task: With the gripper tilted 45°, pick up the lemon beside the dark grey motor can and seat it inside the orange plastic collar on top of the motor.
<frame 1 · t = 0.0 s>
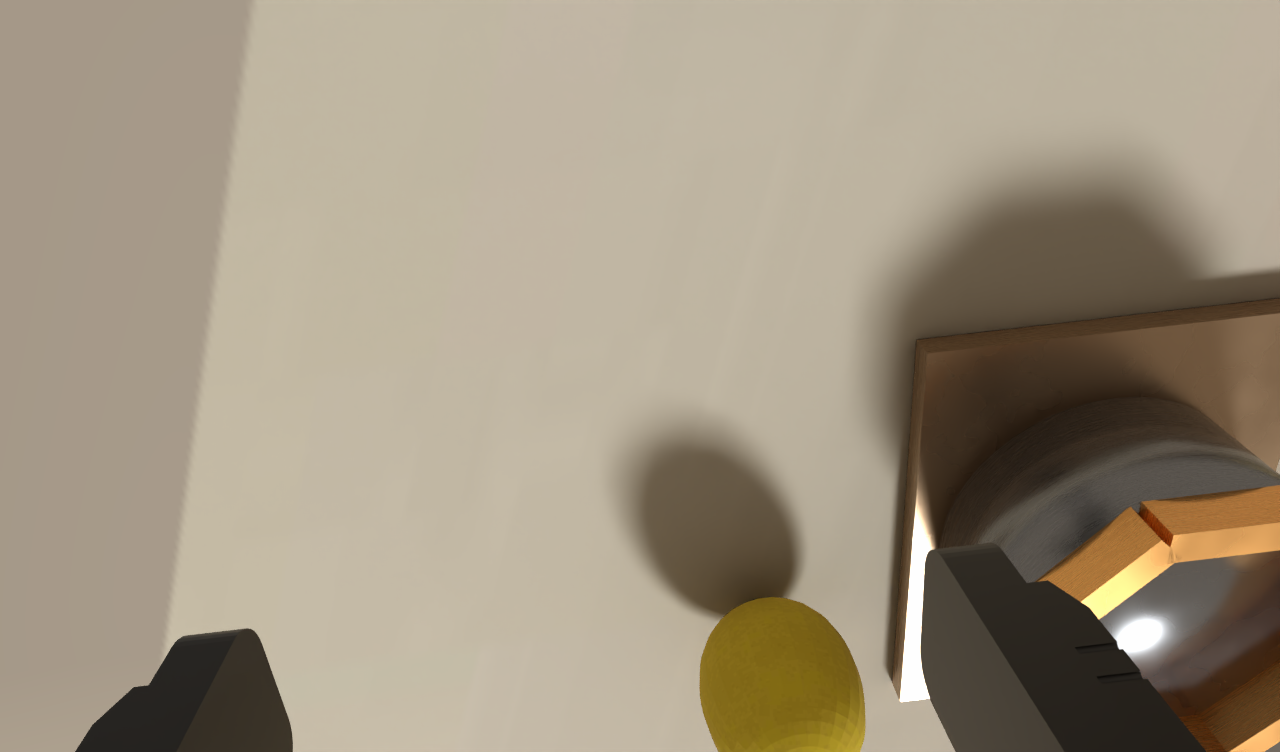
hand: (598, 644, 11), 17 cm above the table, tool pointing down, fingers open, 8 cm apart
lemon: (757, 605, 34), on the table
motor mount: (1074, 511, 33), on the table
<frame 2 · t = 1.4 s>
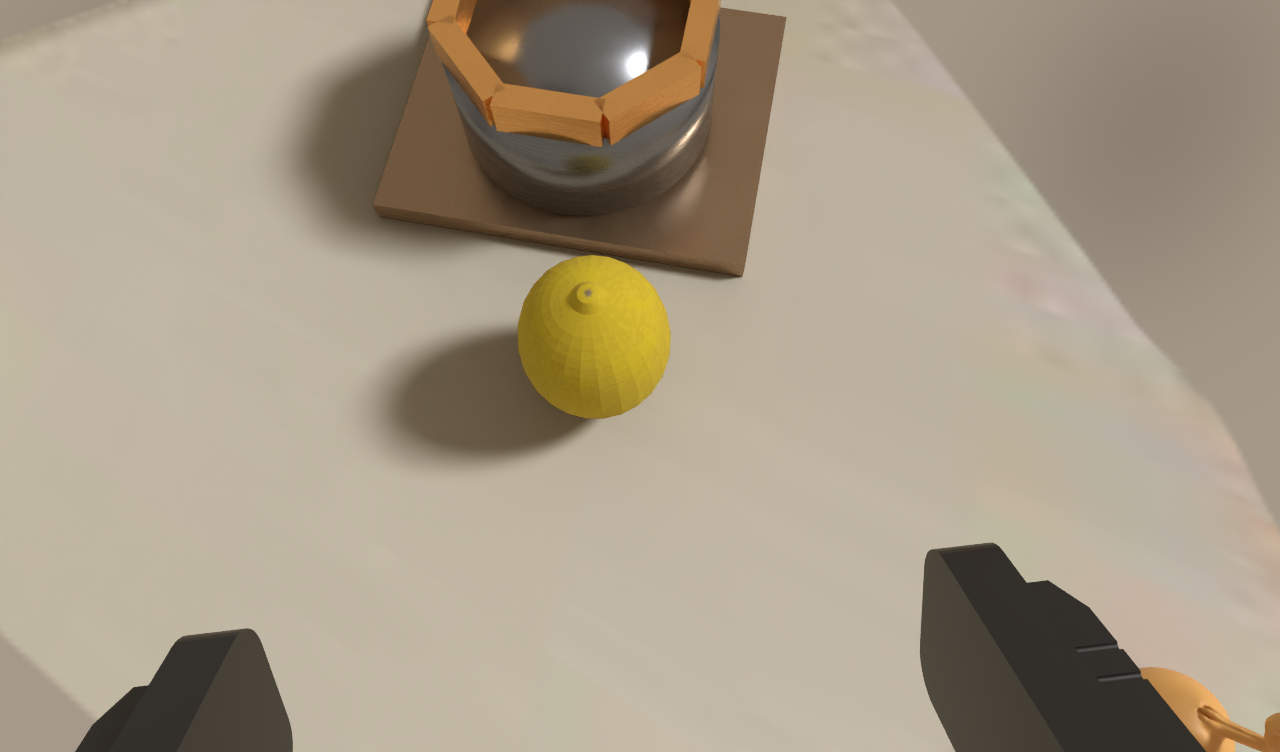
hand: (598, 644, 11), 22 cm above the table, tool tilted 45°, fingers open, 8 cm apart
lemon: (600, 378, 36), on the table
motor mount: (589, 120, 40), on the table
figurine: (1153, 748, 31), on the table
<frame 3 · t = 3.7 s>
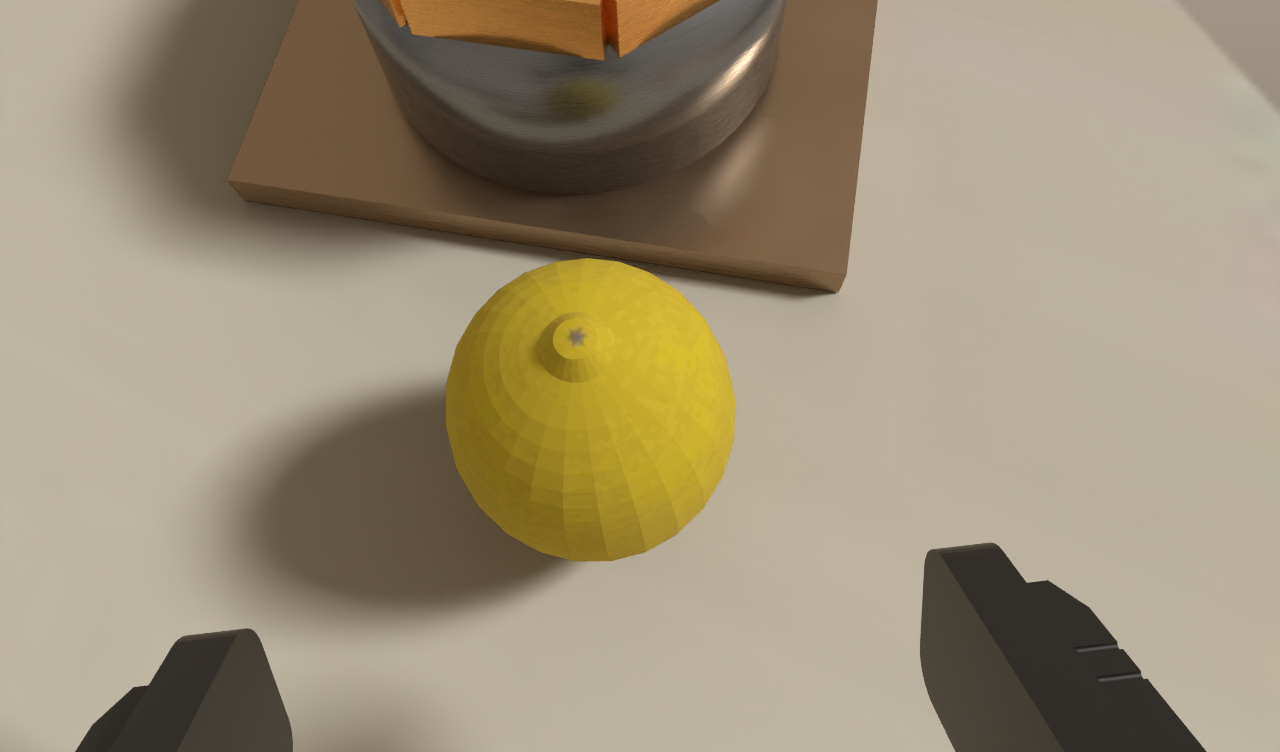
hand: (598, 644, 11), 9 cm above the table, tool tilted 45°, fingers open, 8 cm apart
lemon: (605, 467, 21), on the table
motor mount: (583, 47, 25), on the table
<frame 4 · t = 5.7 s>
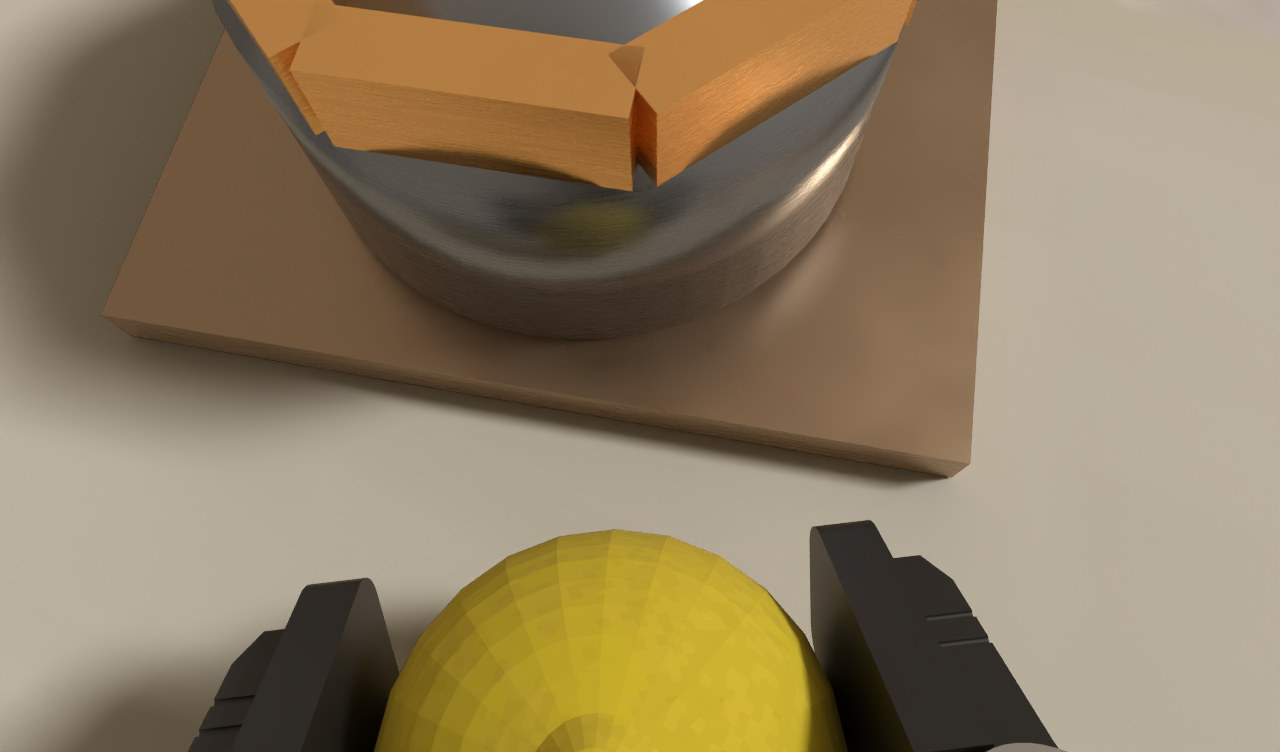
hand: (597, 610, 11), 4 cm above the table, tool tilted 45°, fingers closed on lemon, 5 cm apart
lemon: (626, 743, 15), on the table, touching gripper
motor mount: (594, 121, 19), on the table
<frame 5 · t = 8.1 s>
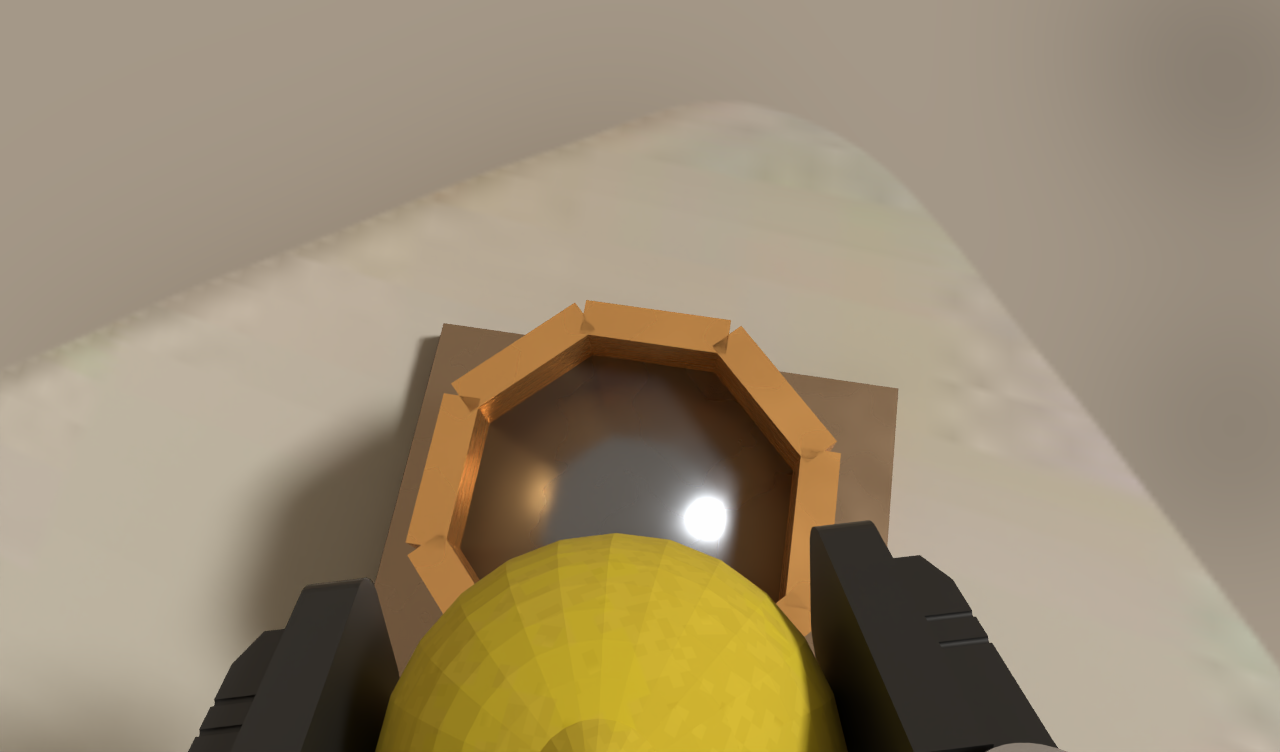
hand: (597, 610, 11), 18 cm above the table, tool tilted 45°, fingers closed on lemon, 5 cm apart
lemon: (626, 746, 15), point 13 cm above the table, touching gripper
motor mount: (635, 545, 29), on the table
when the fingers open (12 cm above the table, at t = 10.3 s): lemon stays where it is, resting on motor mount.
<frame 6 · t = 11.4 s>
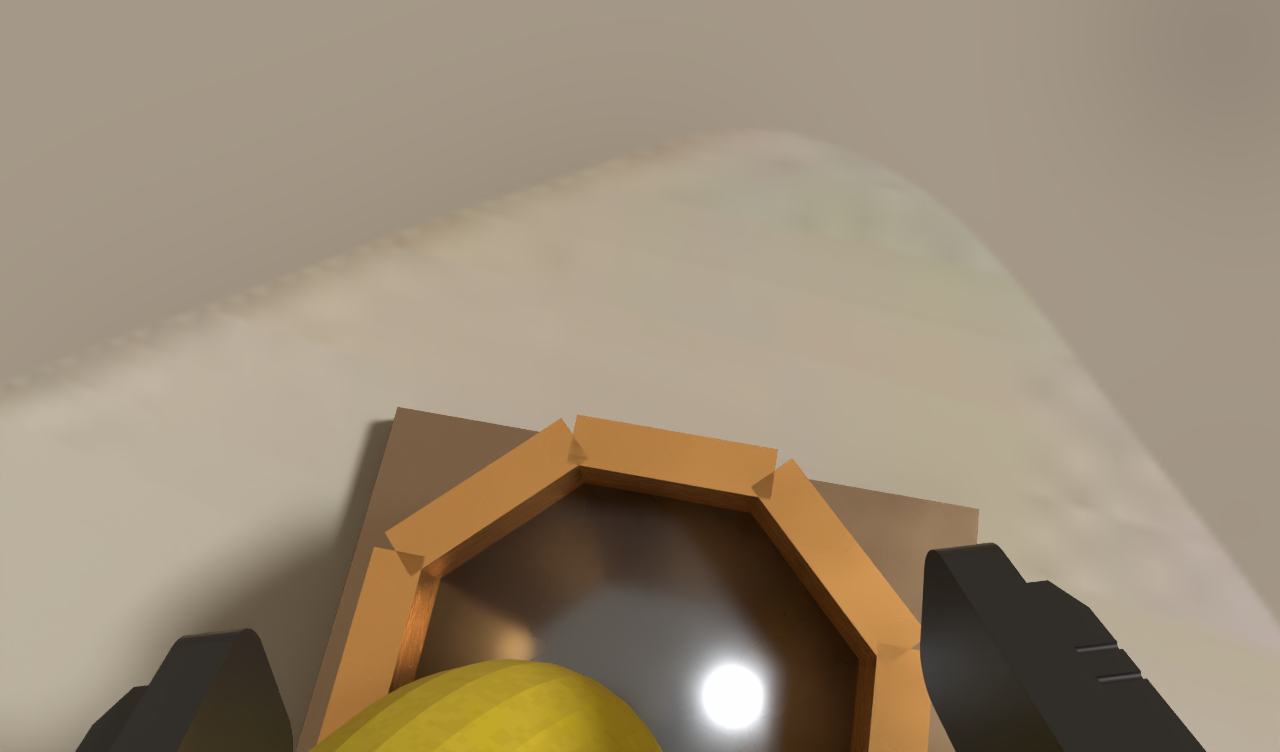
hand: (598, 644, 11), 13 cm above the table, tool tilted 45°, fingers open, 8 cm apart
lemon: (637, 748, 16), point 7 cm above the table, touching motor mount
motor mount: (636, 707, 22), on the table
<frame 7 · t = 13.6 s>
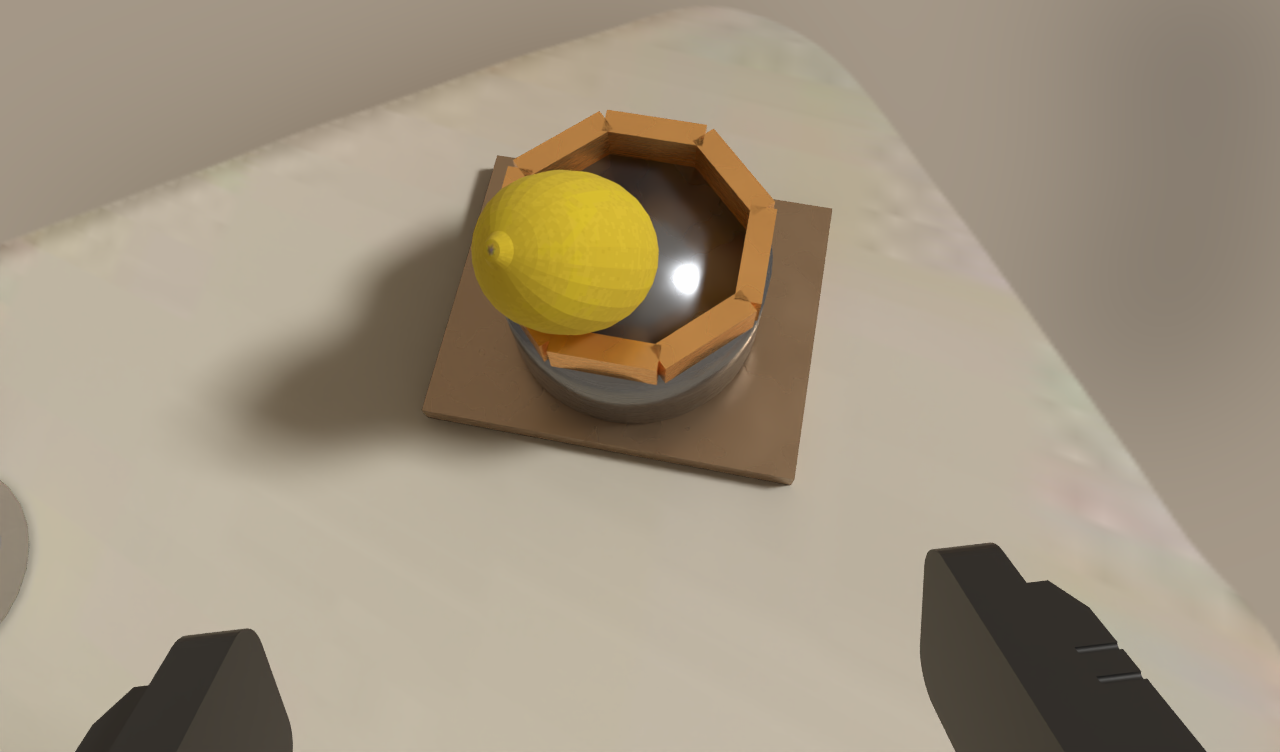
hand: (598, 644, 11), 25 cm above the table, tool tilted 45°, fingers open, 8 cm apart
lemon: (636, 256, 33), point 7 cm above the table, touching motor mount
motor mount: (635, 314, 40), on the table
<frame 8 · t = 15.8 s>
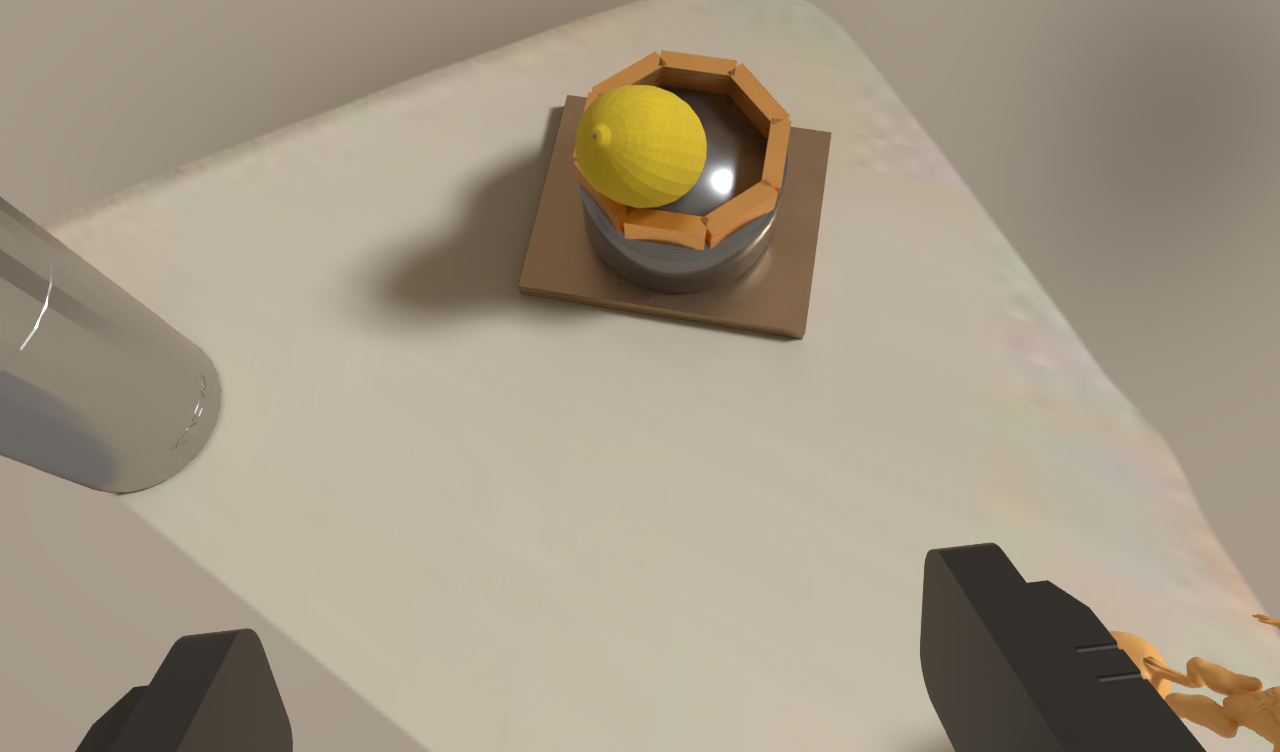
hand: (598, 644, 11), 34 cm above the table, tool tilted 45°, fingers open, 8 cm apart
lemon: (686, 157, 44), point 7 cm above the table, touching motor mount
motor mount: (679, 215, 51), on the table
figurine: (1116, 692, 42), on the table
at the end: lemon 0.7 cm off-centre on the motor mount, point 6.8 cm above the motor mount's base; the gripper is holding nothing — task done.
